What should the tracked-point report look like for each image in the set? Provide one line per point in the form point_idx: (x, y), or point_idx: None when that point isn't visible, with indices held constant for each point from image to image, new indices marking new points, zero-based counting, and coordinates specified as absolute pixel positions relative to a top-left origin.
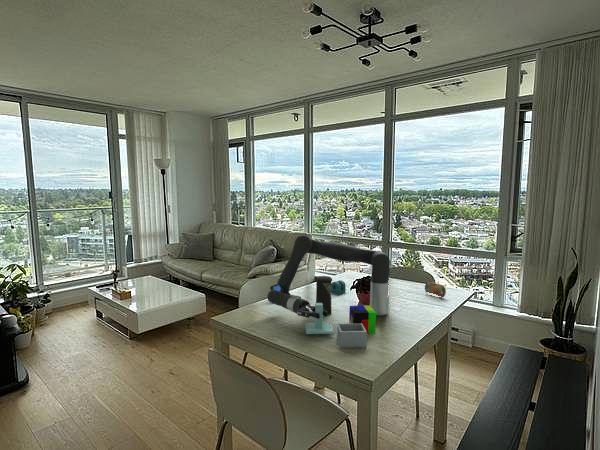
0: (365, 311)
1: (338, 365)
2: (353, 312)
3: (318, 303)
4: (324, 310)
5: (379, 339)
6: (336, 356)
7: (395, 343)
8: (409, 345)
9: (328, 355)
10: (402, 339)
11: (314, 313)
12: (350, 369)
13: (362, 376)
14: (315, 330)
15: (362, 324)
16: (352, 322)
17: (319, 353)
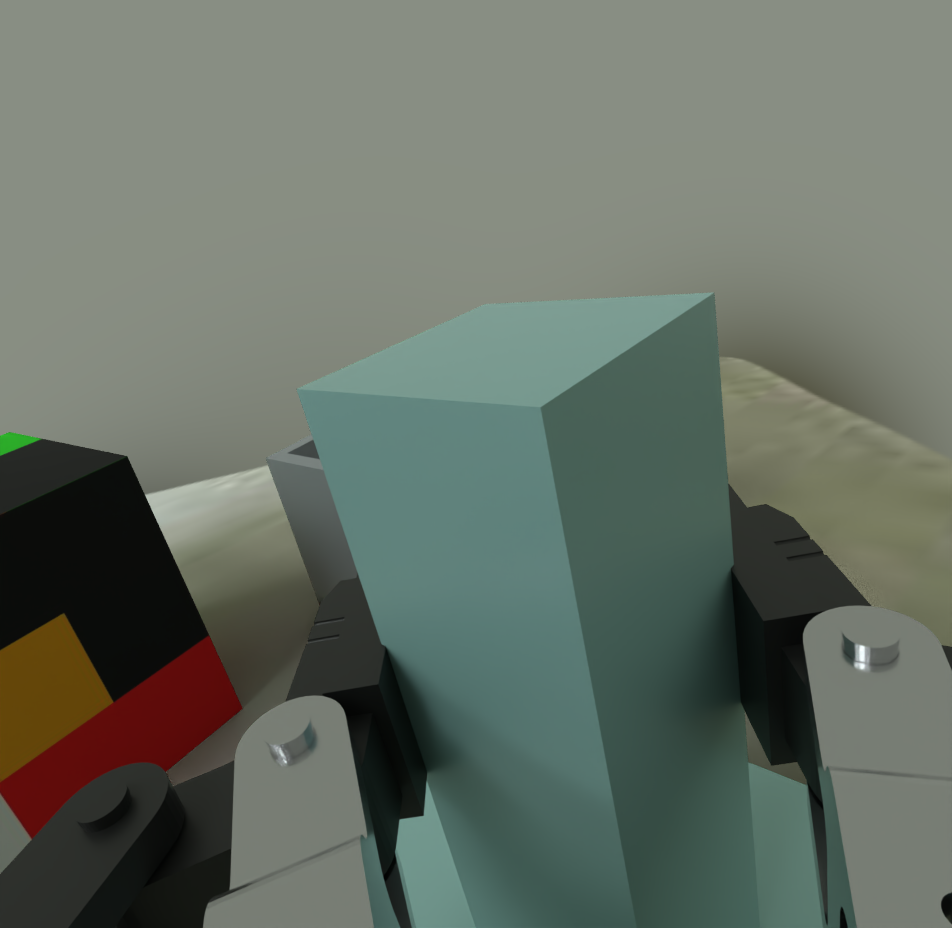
0: (5, 461)
1: (836, 418)
2: (66, 503)
3: (464, 369)
4: (356, 600)
5: (242, 557)
6: (783, 479)
7: (250, 501)
8: (234, 474)
9: (854, 500)
10: (157, 520)
11: (788, 585)
12: (776, 392)
13: (749, 362)
14: (810, 845)
15: (290, 445)
16: (96, 685)
17: (946, 538)
